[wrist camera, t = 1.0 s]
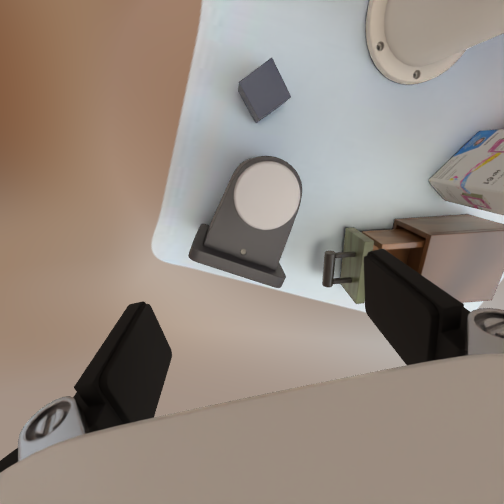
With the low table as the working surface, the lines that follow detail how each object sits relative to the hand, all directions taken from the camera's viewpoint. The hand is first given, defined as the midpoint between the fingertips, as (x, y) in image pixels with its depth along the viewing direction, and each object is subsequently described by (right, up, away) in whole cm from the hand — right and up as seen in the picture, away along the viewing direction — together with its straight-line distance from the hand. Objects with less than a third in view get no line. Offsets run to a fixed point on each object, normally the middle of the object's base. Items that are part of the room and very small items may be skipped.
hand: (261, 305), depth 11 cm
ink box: (+29, +14, +24) cm, 40 cm away
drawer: (+16, +2, +27) cm, 32 cm away
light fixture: (-1, +9, +24) cm, 25 cm away
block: (+1, +21, +19) cm, 28 cm away
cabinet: (+27, +3, +28) cm, 39 cm away
